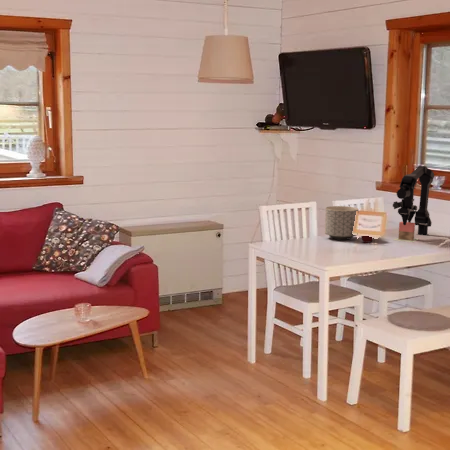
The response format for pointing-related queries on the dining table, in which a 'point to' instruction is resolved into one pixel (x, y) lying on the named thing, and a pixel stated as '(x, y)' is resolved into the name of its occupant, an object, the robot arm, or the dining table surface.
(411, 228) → the brick red
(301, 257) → the dining table surface
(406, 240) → the plate
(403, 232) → the brick walnut
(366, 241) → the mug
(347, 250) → the dining table surface
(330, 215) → the planter
